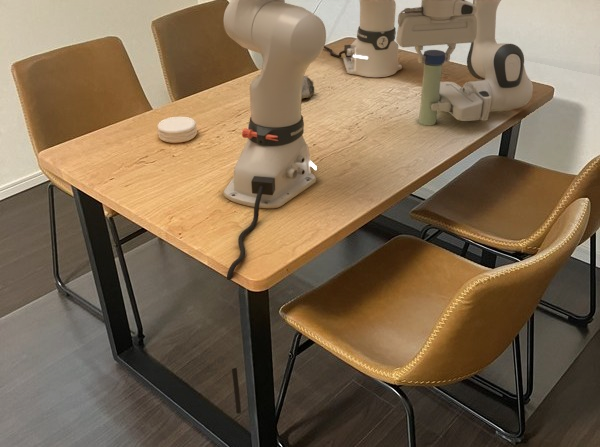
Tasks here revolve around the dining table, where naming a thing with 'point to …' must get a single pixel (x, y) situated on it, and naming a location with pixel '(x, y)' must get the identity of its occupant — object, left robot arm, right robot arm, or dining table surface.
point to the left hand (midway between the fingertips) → (433, 61)
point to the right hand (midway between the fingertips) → (426, 102)
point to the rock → (307, 88)
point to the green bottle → (430, 93)
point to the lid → (434, 57)
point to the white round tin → (177, 129)
